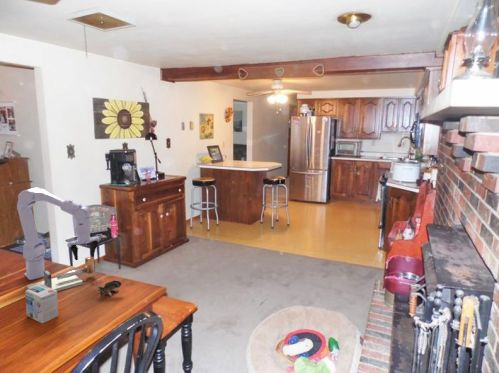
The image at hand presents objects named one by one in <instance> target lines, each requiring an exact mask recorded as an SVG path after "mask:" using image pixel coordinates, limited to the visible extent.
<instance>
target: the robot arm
mask: <svg viewBox="0 0 499 373" xmlns="http://www.w3.org/2000/svg"><path fill="white" fill-rule="evenodd" d="M17 198H18V200H17V204H16V209H17V212H18V216H19V217H18V218H19V220H20V224H21V228H22V233H23V235H24V236H23V237H24V239H25V240H24V242H25V243H24V244H23V247H22V249H23V252H22V257H23V259H24V260H25V270H26V272H25V273H24V274H23V275H25V277H26V278H27V279H28V281H32V280H36V279H40V278H44V271H45V269H46V268H45V253H47V246H46V245H45V244H44V241H43V239H41V238H40V236H39V234H38V230H37V226H36V221H35V218H34V214H33V210H32V207H33V206H34V205H36V203H37V202H42V201H44V202H47V203H49V204H52V205H55V206H57V207H59V208H60V210H61V211H63V212H65V213H67V214H69V215H71V216H74V219H75V220H76V239H75V240H72V241H71V240H70V241H67V243H66V244H67V247H68V248H69V249H70V250H71V253H72V254H73V257H74V260H75V261H78V260H79V256H78V254H79V253H78V252H79V247H78V246H80V245H85V244H89V246H90V247H89V249H90V257H94V256H95V252H96V249H97V248H98V245H99V242H100V239H101V238H100V237H99V236H91V222H90V221H91V220H90V217H91V215H92V211H93V210H92V208H91V207H89V206H88V205H82V204H78V203H77V202H74V201H73V200H72V199H65V200H64V199H62V198H60V197H58V196H56V195H53V194H52V193H51V192H48V191H47V190H46V189H45V188H41V187H39V186H35V187H32V188H28V189H24V190H21V191H20V192H19V194H18V195H17Z"/></svg>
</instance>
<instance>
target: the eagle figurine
mask: <svg viewBox="0 0 499 373" xmlns="http://www.w3.org/2000/svg"><path fill="white" fill-rule="evenodd" d="M121 286H122V283H121V281H119V280H112V281H109V282H106V283H105V284H104V286H103V287H102V286H101V285H98V286H96V289H97V291H99V292H98V293H97V294H99V295H100V296H99V298H100V299H101V298H103V297H104V294H106V295H109V296H110V297H111V298H112V296H113V294H112V293H111V292H116V293H117V292H119V290H117V289H118V288H121Z"/></svg>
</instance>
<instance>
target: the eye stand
mask: <svg viewBox="0 0 499 373" xmlns="http://www.w3.org/2000/svg"><path fill="white" fill-rule="evenodd" d="M83 283H84V282H83V280H82V279H81V278H80V277H78V275H75V276H71V277H67V278H64V279H60V280H57V277H53V278H52V273H50V272H49V270H48V269H46V270H45V271H44V277H43V280H41V281H38V282H35V283H30V284H27V285H26V290H29V289H31V288H34V287H37V286H39V285H44V286H46V287H49V288H51V289H54V290H56V291H57V292H60V291H64V290H66V289H69V288H75V287H77V286H81V285H83Z"/></svg>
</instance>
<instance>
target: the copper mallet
mask: <svg viewBox="0 0 499 373" xmlns="http://www.w3.org/2000/svg"><path fill="white" fill-rule="evenodd" d="M94 272H95V258H94V256H93V257H92V256H87V257H84V267H83V268H79V269H75V270H71V271H67V272H63V273H59V274H56V278H57V280H60V279H64V278H67V277H71V276H75V275H76V276H78V275H82V274H89V275H90V274H93V273H94Z"/></svg>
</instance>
